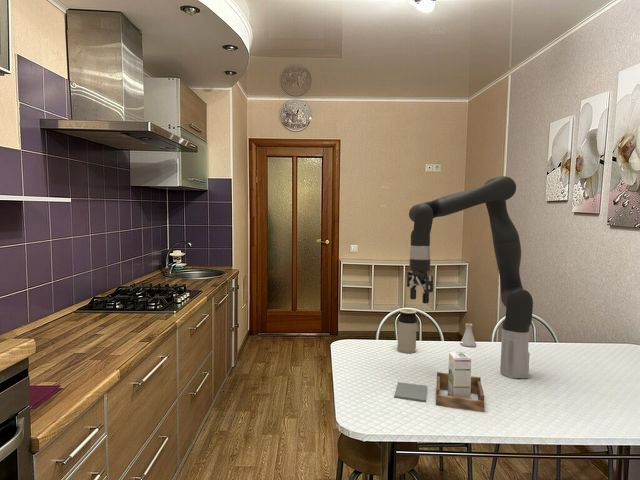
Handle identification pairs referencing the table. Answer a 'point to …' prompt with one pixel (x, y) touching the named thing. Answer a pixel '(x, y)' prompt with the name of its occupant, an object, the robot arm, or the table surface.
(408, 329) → the travel mug
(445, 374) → the frame
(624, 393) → the table surface
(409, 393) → the mat
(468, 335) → the flask
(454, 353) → the syrup box
